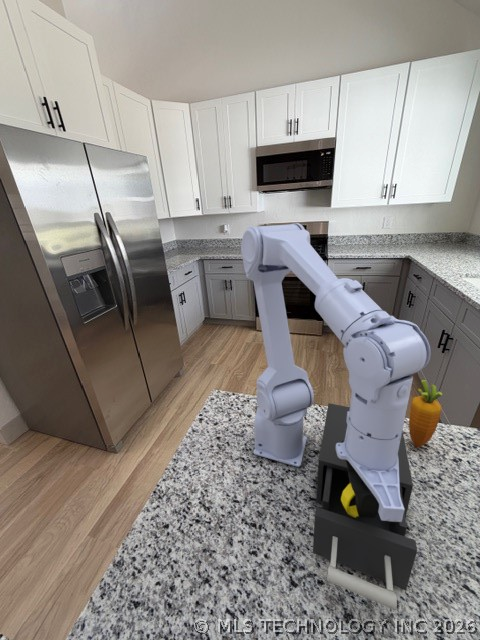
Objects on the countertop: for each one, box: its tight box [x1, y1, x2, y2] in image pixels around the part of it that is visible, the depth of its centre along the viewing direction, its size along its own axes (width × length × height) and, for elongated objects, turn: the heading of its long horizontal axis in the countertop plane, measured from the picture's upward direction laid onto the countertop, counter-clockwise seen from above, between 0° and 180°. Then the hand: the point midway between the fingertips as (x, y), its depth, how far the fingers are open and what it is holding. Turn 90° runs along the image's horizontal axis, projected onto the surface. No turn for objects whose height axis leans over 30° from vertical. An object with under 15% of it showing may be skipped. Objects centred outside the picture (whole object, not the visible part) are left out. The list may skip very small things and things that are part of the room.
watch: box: [341, 483, 359, 518], centre depth 36 cm, size 6×3×6 cm, turn 102°
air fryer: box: [315, 402, 414, 518], centre depth 48 cm, size 15×13×10 cm
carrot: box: [408, 379, 443, 449], centre depth 53 cm, size 5×5×15 cm
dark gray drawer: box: [311, 466, 418, 611], centre depth 38 cm, size 18×11×8 cm, turn 158°
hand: (362, 502), depth 37 cm, fingers closed on watch, 3 cm apart
